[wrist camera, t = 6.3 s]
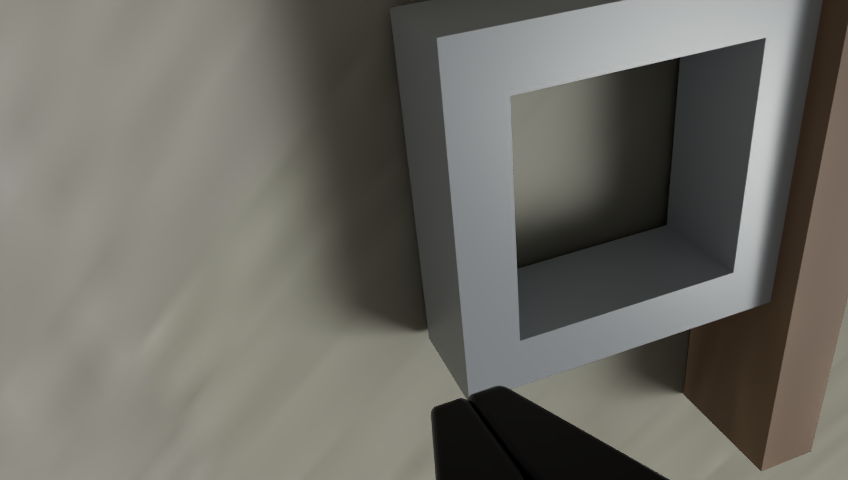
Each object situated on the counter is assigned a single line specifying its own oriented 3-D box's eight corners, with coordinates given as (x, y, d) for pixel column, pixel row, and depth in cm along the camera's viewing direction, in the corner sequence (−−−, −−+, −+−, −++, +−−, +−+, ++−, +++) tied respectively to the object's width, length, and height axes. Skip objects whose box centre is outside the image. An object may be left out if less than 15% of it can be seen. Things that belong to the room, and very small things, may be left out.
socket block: (737, -58, 19) (829, -42, 17) (702, 253, 24) (770, 302, 22) (389, 8, 17) (436, 37, 14) (429, 338, 22) (469, 402, 19)
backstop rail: (838, -369, 17) (1018, -418, 13) (728, 377, 28) (811, 451, 25) (765, -364, 16) (932, -414, 13) (683, 394, 27) (761, 471, 24)
